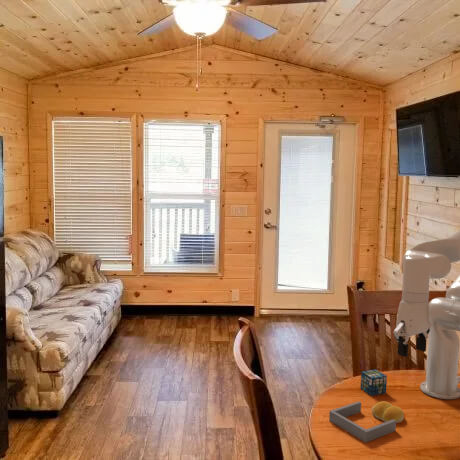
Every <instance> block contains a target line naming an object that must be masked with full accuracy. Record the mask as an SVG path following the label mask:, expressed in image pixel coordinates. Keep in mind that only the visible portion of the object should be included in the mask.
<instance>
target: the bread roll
mask: <svg viewBox="0 0 460 460" xmlns="http://www.w3.org/2000/svg"><path fill="white" fill-rule="evenodd" d="M404 413H405V412H404V411H403V409H402V408H401V407H400V406H397V405H392V403H390V402H388V401H385V400H381V401H379V402H377V403H376V404H373V406H372V408H371V414H372V415H373V416H374V417H375V418H377V419H378V420H382V421H383V423H385V422H387V421H390V420H393V419H394V420H396V424H397V423H399V424H400V423H401V422H402V421H403V420H404V416H405V415H404Z"/></svg>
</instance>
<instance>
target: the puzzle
mask: <svg viewBox="0 0 460 460" xmlns="http://www.w3.org/2000/svg"><path fill="white" fill-rule="evenodd" d="M360 372H361V373H360V389H361V390H362V391H363V392H365V393H367V394H368V395H369V396H371V397H373V396H379V395H383V394H386V393H387V382H388V381H387V380H388V375H386V374H385V373H383V372H381V371H379V370H378V369H376V368H375V369H370V370H365V371H364V370H363V371H360Z"/></svg>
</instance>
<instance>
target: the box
mask: <svg viewBox="0 0 460 460" xmlns="http://www.w3.org/2000/svg"><path fill="white" fill-rule="evenodd" d="M361 412H362V402H361V401H356V402H352V403H349V404H347V405H343V406H341V407H338V408H333V409H331V410H329V416H328V418H329V420H328V421H329V422H330V423H332V424H334V425H335V426H336V427H339V428H341V429H342V430H344V431H346V432H347V433H349V434H351V435H352V436H353V437H356V438H357V439H358V440H360V441H362V442H364V443H368V442H371V441H373V440H376V439H379V438H381V437H384V436H386V435H389V434H391V433H393V432H396V427H397V423H396V420H394V419H393V420H390V421H387V422H382V423H380V424H377V425H374V426H372V427H369V428H364V427H363V426H361V425H359V424H357V423H356V422H354V421H352V420H350V419H348V417H350V416H354V415H356V414H359V413H361Z"/></svg>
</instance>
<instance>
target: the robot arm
mask: <svg viewBox="0 0 460 460" xmlns="http://www.w3.org/2000/svg"><path fill="white" fill-rule="evenodd" d="M401 260H402V261H401V267H402V268H403V271H402V284H401V285H402V287H401V289H402V290H401V300H400V302H399V305H398V309H397V315H396V325H395V329H394V330H393V334H394V337H395V339H396V342H397V343H398V344H397V355H398V356H401V357H404V358H408V355H409V344H408V341H409V339H410V337H413V336H416V335H418V336H416V343H415V349H416V350H417V351H419V352H420V351H421V352H423V353H425V352H426V351H427V355H426V356H427V357H426V371H425V372H426V373H425V374H426V375H425V381H422V382H421V383H420V390H421V391H422V392H423V393H424V394H425V395H427V396H430V397H433V398H436V399H441V400H456V399H459V398H460V387H458V384H459V383H460V375H458V372H459V371H458V369H459V359H460V358H459V357H460V338H459V335H458V333H457V332H460V274H459V275H458V276H457V277H456V278H455V279H454V280H453V282H452V283H451V284H450V285H449V287H448V288H447V291H446V293H445V297H442V296H441V297H439V296H438V297H435V298H432V299H431V300H430V301H429V297H430V295H429V294H430V280H431V279H432V280H433V279H439V280H440V279H443V278H446V277H447V276H448V275H449V274H450V273H451V270H452V264H454V263H455V264H456V263H459V262H460V230H458V231H456V232H454V233H453V234H451V235H450V236H448V237H446V238H441V239H440V238H439V239H436V240H431V241H424V242H422V243H419V244H416V245H415V246H413V247H410V248H409V249H408V250H407V251H406V252H405V253H404V255H403V256H402V259H401ZM427 339H428V340H427ZM427 342H428V343H427Z"/></svg>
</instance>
